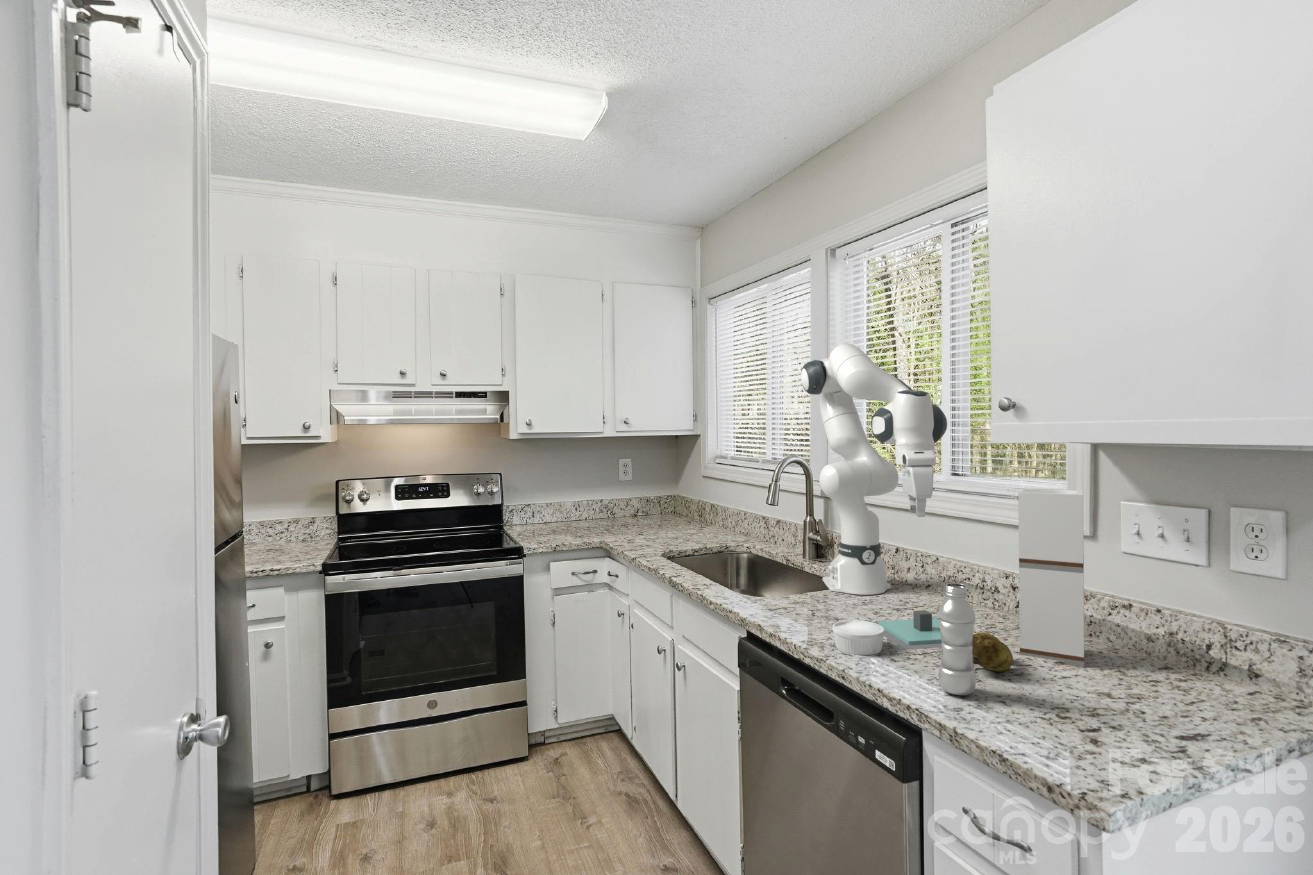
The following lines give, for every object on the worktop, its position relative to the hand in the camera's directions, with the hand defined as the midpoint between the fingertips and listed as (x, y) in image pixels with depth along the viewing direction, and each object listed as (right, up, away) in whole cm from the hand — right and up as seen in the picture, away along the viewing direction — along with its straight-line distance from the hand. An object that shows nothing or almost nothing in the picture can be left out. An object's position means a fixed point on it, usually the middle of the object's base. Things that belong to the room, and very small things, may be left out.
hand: (917, 514), depth 158 cm
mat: (0, -28, -3) cm, 28 cm away
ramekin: (-18, -29, -12) cm, 36 cm away
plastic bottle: (-7, -29, -36) cm, 47 cm away
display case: (+22, -28, -17) cm, 40 cm away
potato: (+5, -29, -25) cm, 38 cm away
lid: (0, -28, -3) cm, 28 cm away
